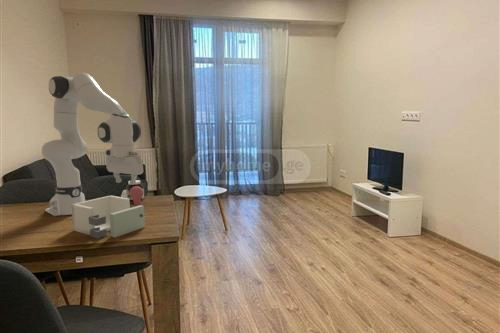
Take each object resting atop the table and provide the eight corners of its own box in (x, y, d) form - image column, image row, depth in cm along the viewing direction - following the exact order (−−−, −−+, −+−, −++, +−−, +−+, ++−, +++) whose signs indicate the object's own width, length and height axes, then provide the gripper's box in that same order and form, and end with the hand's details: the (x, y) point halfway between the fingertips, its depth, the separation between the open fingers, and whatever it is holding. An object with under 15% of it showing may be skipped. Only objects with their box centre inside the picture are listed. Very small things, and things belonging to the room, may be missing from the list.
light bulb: (131, 209, 187) (130, 188, 186) (129, 206, 194) (128, 185, 192) (145, 208, 191) (144, 186, 189) (142, 205, 197) (141, 184, 195)
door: (111, 236, 146) (109, 213, 145) (141, 226, 159) (140, 205, 158) (116, 237, 144) (114, 214, 143) (146, 227, 158) (145, 206, 156)
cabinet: (71, 230, 154) (69, 204, 152) (112, 218, 171) (110, 195, 169) (97, 238, 143) (95, 210, 142) (138, 225, 161) (136, 200, 159)
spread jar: (146, 199, 210) (145, 180, 208) (131, 203, 200) (129, 184, 198) (132, 197, 216) (131, 179, 214) (117, 201, 206) (116, 182, 205)
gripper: (145, 151, 144) (147, 184, 146) (115, 149, 155) (117, 180, 157) (133, 153, 139) (135, 186, 141) (102, 151, 150) (104, 182, 152)
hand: (125, 183), depth 149 cm, fingers open, 8 cm apart
